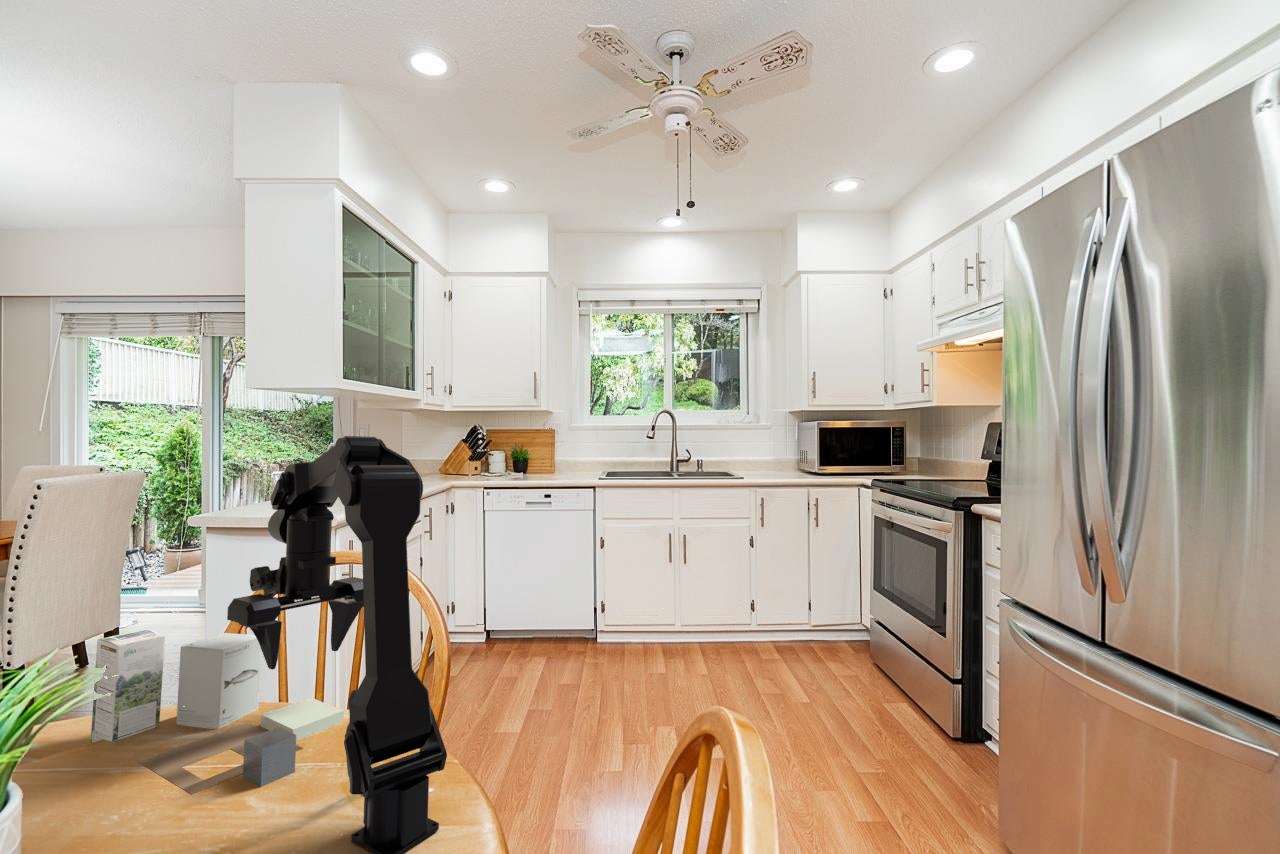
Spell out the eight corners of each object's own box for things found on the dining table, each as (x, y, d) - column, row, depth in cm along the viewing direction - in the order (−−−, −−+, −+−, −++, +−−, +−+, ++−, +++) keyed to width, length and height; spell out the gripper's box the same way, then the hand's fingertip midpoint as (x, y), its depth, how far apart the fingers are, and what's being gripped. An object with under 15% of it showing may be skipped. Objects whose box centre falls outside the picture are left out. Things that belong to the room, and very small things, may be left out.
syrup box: (138, 727, 89) (143, 627, 90) (160, 736, 87) (165, 633, 87) (89, 744, 84) (95, 637, 85) (111, 753, 81) (117, 644, 82)
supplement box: (217, 740, 86) (221, 649, 86) (173, 735, 87) (178, 645, 88) (259, 718, 93) (263, 634, 93) (219, 713, 94) (222, 631, 95)
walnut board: (302, 759, 81) (303, 747, 81) (190, 807, 70) (191, 794, 70) (247, 733, 88) (247, 723, 88) (137, 773, 77) (137, 761, 77)
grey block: (294, 784, 75) (296, 734, 75) (260, 800, 71) (262, 748, 72) (276, 775, 77) (278, 727, 77) (242, 790, 73) (244, 739, 74)
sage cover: (342, 735, 88) (343, 710, 89) (292, 755, 82) (293, 729, 83) (310, 720, 93) (311, 697, 93) (260, 739, 87) (261, 714, 87)
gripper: (335, 538, 101) (332, 634, 100) (209, 553, 85) (204, 667, 84) (378, 544, 95) (375, 646, 94) (252, 561, 79) (247, 684, 78)
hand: (304, 659), depth 88 cm, fingers open, 9 cm apart
